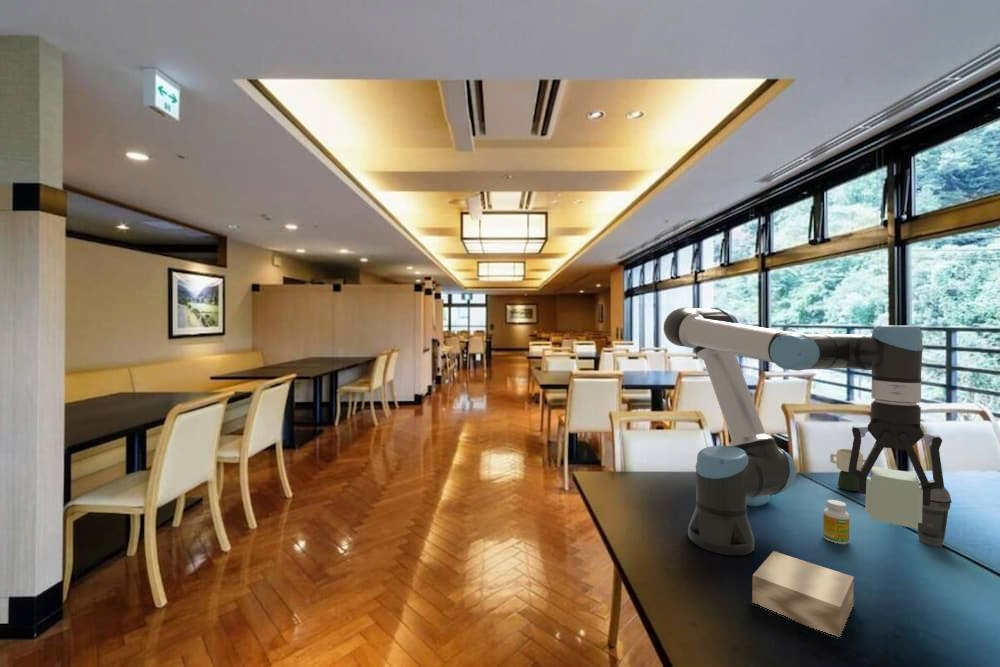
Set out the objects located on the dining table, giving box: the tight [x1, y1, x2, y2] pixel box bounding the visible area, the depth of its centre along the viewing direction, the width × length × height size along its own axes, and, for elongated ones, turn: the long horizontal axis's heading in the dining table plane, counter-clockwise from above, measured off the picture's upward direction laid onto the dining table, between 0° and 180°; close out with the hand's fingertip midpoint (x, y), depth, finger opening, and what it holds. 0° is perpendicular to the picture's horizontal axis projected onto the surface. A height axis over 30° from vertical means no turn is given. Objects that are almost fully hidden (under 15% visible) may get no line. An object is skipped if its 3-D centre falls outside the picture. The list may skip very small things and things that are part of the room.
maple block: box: [751, 550, 855, 638], centre depth 89 cm, size 14×14×6 cm
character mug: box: [829, 448, 866, 492], centre depth 152 cm, size 11×7×13 cm, turn 39°
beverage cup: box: [916, 482, 952, 548], centre depth 115 cm, size 7×7×20 cm
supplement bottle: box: [822, 499, 851, 545], centre depth 116 cm, size 5×5×10 cm
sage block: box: [869, 466, 920, 530], centre depth 91 cm, size 7×7×9 cm
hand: (892, 514), depth 91 cm, fingers closed on sage block, 7 cm apart
